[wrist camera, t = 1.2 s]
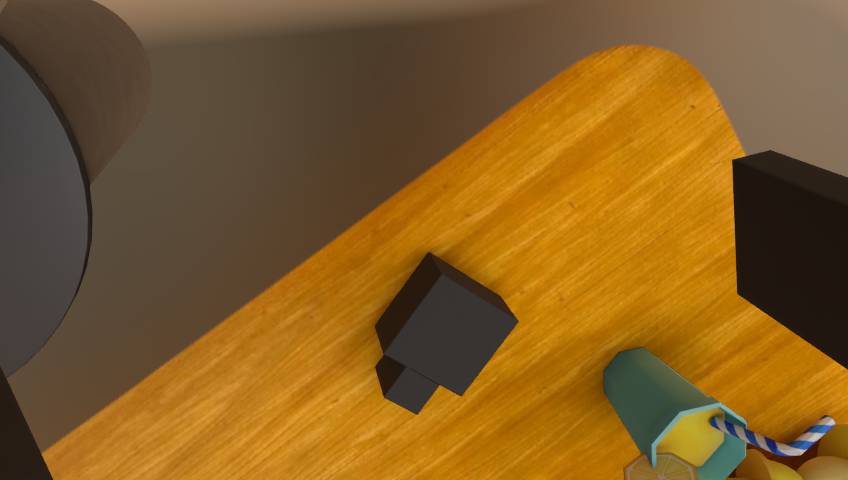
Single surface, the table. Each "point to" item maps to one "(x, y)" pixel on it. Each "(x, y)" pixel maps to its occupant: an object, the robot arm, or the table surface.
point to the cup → (683, 423)
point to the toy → (822, 476)
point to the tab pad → (438, 334)
